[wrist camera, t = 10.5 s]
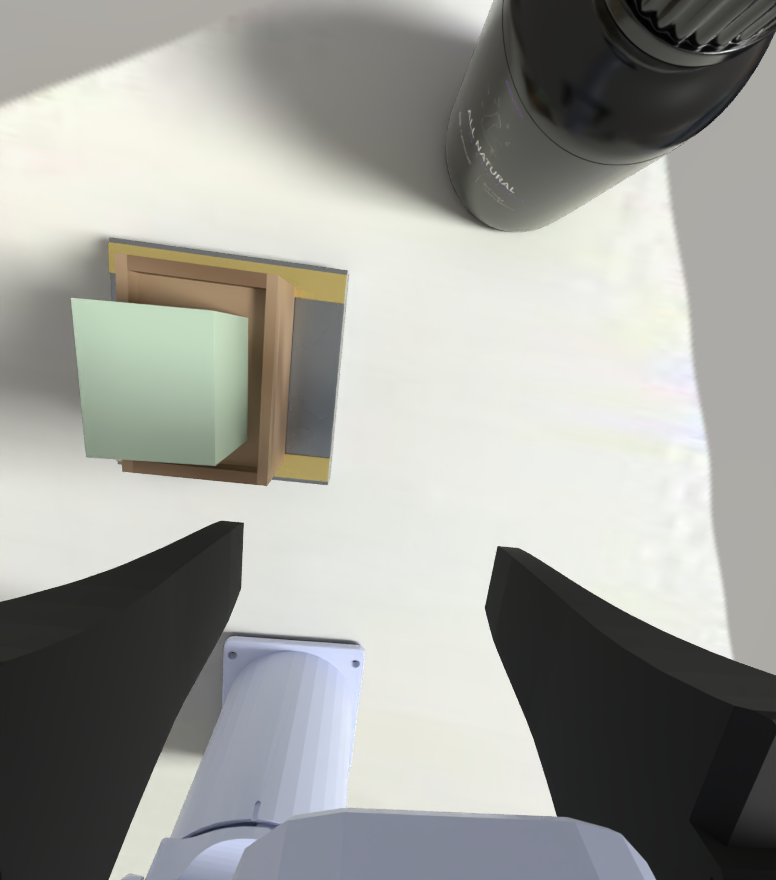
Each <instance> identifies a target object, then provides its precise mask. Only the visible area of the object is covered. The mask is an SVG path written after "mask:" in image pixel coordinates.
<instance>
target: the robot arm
mask: <svg viewBox="0 0 776 880" xmlns="http://www.w3.org/2000/svg"><path fill="white" fill-rule="evenodd" d="M243 528H244V523H240V522H229V521H219V522H216V523H214V524H211V525H209V526H207V527H205V528H203V529H201V530H199V531H196V532H194V533H192V534H190V535H188V536H186V537H184V538H182V539H180V540H178V541H176V542H174V543H171V544H169V545H167V546H165V547H163V548H161V549H159V550H156V551H154V552H152V553H149V554H147V555H145V556H142V557H140V558H138V559H135V560H133V561H131V562H128V563H126V564H124V565H121V566H118V567H116V568H113V569H111V570H108V571H105V572H102V573H99V574H96V575H94V576H91V577H88V578H85V579H82V580H79V581H76V582H72V583H69V584H66V585H62V586H59V587H55V588H51V589H48V590H44V591H41V592H37V593H33V594H30V595H26V596H22V597H19V598H15V599H11V600H7V601H2V602H0V880H109V877H110V875H111V872H112V870H113V867H114V865H115V862H116V860H117V857H118V855H119V852H120V849H121V847H122V844H123V842H124V839H125V837H126V834H127V832H128V829H129V827H130V824H131V822H132V819H133V817H134V815H135V812H136V810H137V807H138V805H139V803H140V800H141V798H142V795H143V793H144V791H145V788H146V786H147V783H148V781H149V779H150V776H151V774H152V771H153V769H154V767H155V764H156V762H157V760H158V758H159V755H160V753H161V751H162V748H163V746H164V744H165V741H166V739H167V737H168V735H169V732H170V730H171V728H172V725H173V723H174V721H175V719H176V717H177V715H178V713H179V711H180V709H181V707H182V705H183V703H184V701H185V699H186V697H187V695H188V694H189V692H190V690H191V688H192V686H193V685H194V683H195V681H196V679H197V677H198V676H199V674H200V672H201V670H202V668H203V667H204V665H205V663H206V661H207V659H208V657H209V656H210V654H211V652H212V650H213V648H214V647H215V645H216V643H217V641H218V639H219V637H220V636H221V634H222V632H223V630H224V628H225V626H226V624H227V623H228V621H229V618H230V616H231V613H232V611H233V608H234V606H235V603H236V600H237V598H238V595H239V592H240V590H241V576H242V552H243ZM485 611H486V615H487V619H488V623H489V627H490V630H491V634H492V637H493V641H494V643H495V646H496V649H497V651H498V653H499V656H500V658H501V661H502V663H503V666H504V668H505V670H506V673H507V675H508V678H509V680H510V682H511V685H512V687H513V689H514V692H515V694H516V697H517V699H518V701H519V704H520V706H521V709H522V711H523V713H524V716H525V718H526V720H527V723H528V726H529V728H530V731H531V734H532V736H533V739H534V742H535V745H536V748H537V752H538V755H539V758H540V761H541V764H542V768H543V771H544V774H545V777H546V780H547V784H548V787H549V790H550V794H551V797H552V801H553V804H554V808H555V811H556V815H557V817H551V816H527V815H504V814H480V813H457V812H434V811H410V810H387V809H363V808H347V793H348V774H349V772H350V768H351V760H352V752H353V745H354V737H355V729H356V722H357V714H358V706H359V698H360V691H361V683H362V675H363V668H364V660H365V650H364V648H363V647H362V646H360V645H352V644H338V643H324V642H310V641H296V640H282V639H268V638H254V637H241V636H231V637H229V638H228V639H227V640H226V642H225V644H224V656H223V688H222V711H221V713H220V716H219V718H218V720H217V723H216V725H215V728H214V730H213V733H212V735H211V738H210V740H209V743H208V745H207V748H206V750H205V753H204V755H203V758H202V760H201V762H200V765H199V767H198V770H197V772H196V775H195V777H194V780H193V782H192V785H191V787H190V790H189V792H188V795H187V797H186V800H185V802H184V805H183V807H182V809H181V812H180V814H179V817H178V819H177V822H176V824H175V827H174V829H173V832H172V834H171V837H170V838H164V839H162V841H161V843H160V846H159V848H158V850H157V853H156V855H155V858H154V860H153V862H152V865H151V867H150V869H149V872H148V874H147V877H146V879H145V880H776V675H773V674H770V673H767V672H764V671H762V670H759V669H756V668H753V667H750V666H747V665H745V664H742V663H739V662H736V661H734V660H731V659H728V658H726V657H723V656H721V655H718V654H715V653H713V652H710V651H708V650H706V649H703V648H701V647H698V646H696V645H694V644H691V643H689V642H687V641H684V640H682V639H680V638H677V637H675V636H673V635H671V634H668V633H666V632H664V631H662V630H660V629H658V628H656V627H654V626H652V625H650V624H648V623H646V622H644V621H642V620H640V619H638V618H636V617H634V616H632V615H630V614H628V613H626V612H624V611H622V610H620V609H619V608H617V607H615V606H613V605H612V604H610V603H608V602H606V601H605V600H603V599H601V598H599V597H598V596H596V595H594V594H593V593H591V592H589V591H588V590H586V589H584V588H583V587H581V586H580V585H578V584H576V583H575V582H573V581H572V580H570V579H568V578H567V577H565V576H564V575H562V574H561V573H559V572H558V571H556V570H554V569H553V568H551V567H550V566H548V565H547V564H545V563H544V562H542V561H540V560H539V559H537V558H536V557H534V556H532V555H531V554H529V553H527V552H525V551H523V550H521V549H519V548H511V547H501V546H498V547H497V552H496V557H495V561H494V566H493V571H492V576H491V581H490V586H489V590H488V595H487V600H486V605H485ZM231 652H235V653H236V654H232V653H231ZM353 660H357V661H358V662H353ZM121 880H144V877H143V876H139V875H135V874H127V875H126V876H125V877H124V878H122V879H121Z"/></svg>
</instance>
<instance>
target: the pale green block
mask: <svg viewBox="0 0 776 880" xmlns="http://www.w3.org/2000/svg"><path fill="white" fill-rule="evenodd" d="M71 306H72V316H73V327H74V337H75V347H76V357H77V368H78V378H79V388H80V399H81V409H82V419H83V430H84V440H85V450H86V457H91V458H106V459H121V460H135V461H150V462H165V463H180V464H195V465H210V466H216V465H217V464H218V463H220V462H221V461H222V460H223V459H225V458H226V457H227V456H228V455H230V454H231V453H232V452H233V451H235V450H236V449H237V448H238V447H240V446H241V445H242V444H243V443H245V442H246V441H247V440H248V318H246V317H241V316H237V315H232V314H227V313H222V312H217V311H211V310H200V309H190V308H179V307H168V306H157V305H146V304H135V303H124V302H113V301H102V300H91V299H80V298H71Z"/></svg>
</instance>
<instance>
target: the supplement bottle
mask: <svg viewBox="0 0 776 880" xmlns="http://www.w3.org/2000/svg"><path fill="white" fill-rule="evenodd" d="M775 32H776V0H493V3H492V6H491V8H490V11H489V14H488V16H487V19H486V21H485V24H484V27H483V29H482V32H481V35H480V37H479V40H478V42H477V45H476V48H475V50H474V53H473V56H472V58H471V61H470V63H469V66H468V69H467V71H466V74H465V77H464V79H463V82H462V84H461V87H460V90H459V92H458V95H457V98H456V101H455V104H454V107H453V110H452V113H451V116H450V120H449V124H448V129H447V136H446V159H447V166H448V171H449V175H450V179H451V182H452V184H453V187H454V189H455V191H456V193H457V195H458V197H459V198H460V200H461V202H462V203H463V204H464V206H465V207H466V208H467V209H468V210H469V211H470V212H471V213H472V214H473V215H474V216H475V217H476V218H477V219H479V220H480V221H482V222H483V223H485V224H487V225H489V226H491V227H493V228H496V229H499V230H503V231H509V232H526V231H532V230H536V229H539V228H542V227H544V226H547V225H549V224H551V223H553V222H555V221H557V220H558V219H560V218H562V217H564V216H566V215H567V214H569V213H571V212H572V211H574V210H575V209H577V208H579V207H580V206H582V205H584V204H585V203H587V202H589V201H590V200H592V199H594V198H595V197H597V196H599V195H600V194H602V193H604V192H605V191H607V190H608V189H610V188H612V187H613V186H615V185H617V184H618V183H620V182H622V181H623V180H625V179H627V178H628V177H630V176H632V175H633V174H635V173H636V172H638V171H640V170H641V169H643V168H645V167H646V166H648V165H650V164H651V163H653V162H655V161H656V160H658V159H660V158H661V157H663V156H664V155H666V154H668V153H669V152H671V151H673V150H674V149H676V148H677V147H679V146H680V145H682V144H684V143H685V142H686V141H688V140H689V139H691V138H692V137H694V136H695V135H696V134H698V133H699V132H700V131H702V130H703V129H704V128H706V127H707V126H708V125H709V124H711V123H712V122H713V121H714V120H715V119H716V118H717V117H718V116H719V115H720V114H721V113H722V112H723V111H724V110H725V109H726V108H727V107H728V106H729V105H730V104H731V102H732V101H733V100H734V99H735V98H736V96H737V95H738V94H739V93H740V91H741V90H742V89H743V87H744V86H745V85H746V83H747V82H748V80H749V79H750V77H751V76H752V74H753V73H754V71H755V70H756V68H757V67H758V65H759V63H760V61H761V59H762V58H763V56H764V54H765V52H766V51H767V49H768V47H769V44H770V42H771V40H772V38H773V36H774V34H775Z"/></svg>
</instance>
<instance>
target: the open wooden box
mask: <svg viewBox="0 0 776 880" xmlns="http://www.w3.org/2000/svg"><path fill="white" fill-rule="evenodd" d="M115 273H116V301H117V302H124V303H135V304H146V305H157V306H168V307H179V308H190V309H200V310H211V311H217V312H222V313H227V314H232V315H237V316H241V317H246V318H248V440H247V441H246V442H245V443H243V444H242V445H241V446H240V447H238V448H237V449H236V450H235V451H233V452H232V453H231V454H230V455H228V456H227V457H226V458H225V459H223V460H222V461H221V462H220V463H218V464H217V465H216V466H210V465H195V464H180V463H165V462H150V461H135V460H122V472H132V473H142V474H152V475H163V476H173V477H183V478H193V479H203V480H213V481H223V482H233V483H244V484H254V485H264V486H267V485H268V484H269V482H270V481H271V479H272V478H273V477H274V475H275V474H276V473H277V471H278V470H279V468H280V467H281V466H282V464H283V463H284V457H285V441H286V426H287V410H288V395H289V379H290V364H291V348H292V333H293V317H294V301H295V287H294V286H293V285H291V284H290V283H288V282H287V281H286V280H284V279H283V278H282V277H280V276H279V275H274V274H267V273H260V272H252V271H245V270H238V269H230V268H223V267H216V266H208V265H201V264H194V263H186V262H179V261H172V260H164V259H157V258H150V257H142V256H135V255H128V254H120V253H115Z"/></svg>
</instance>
